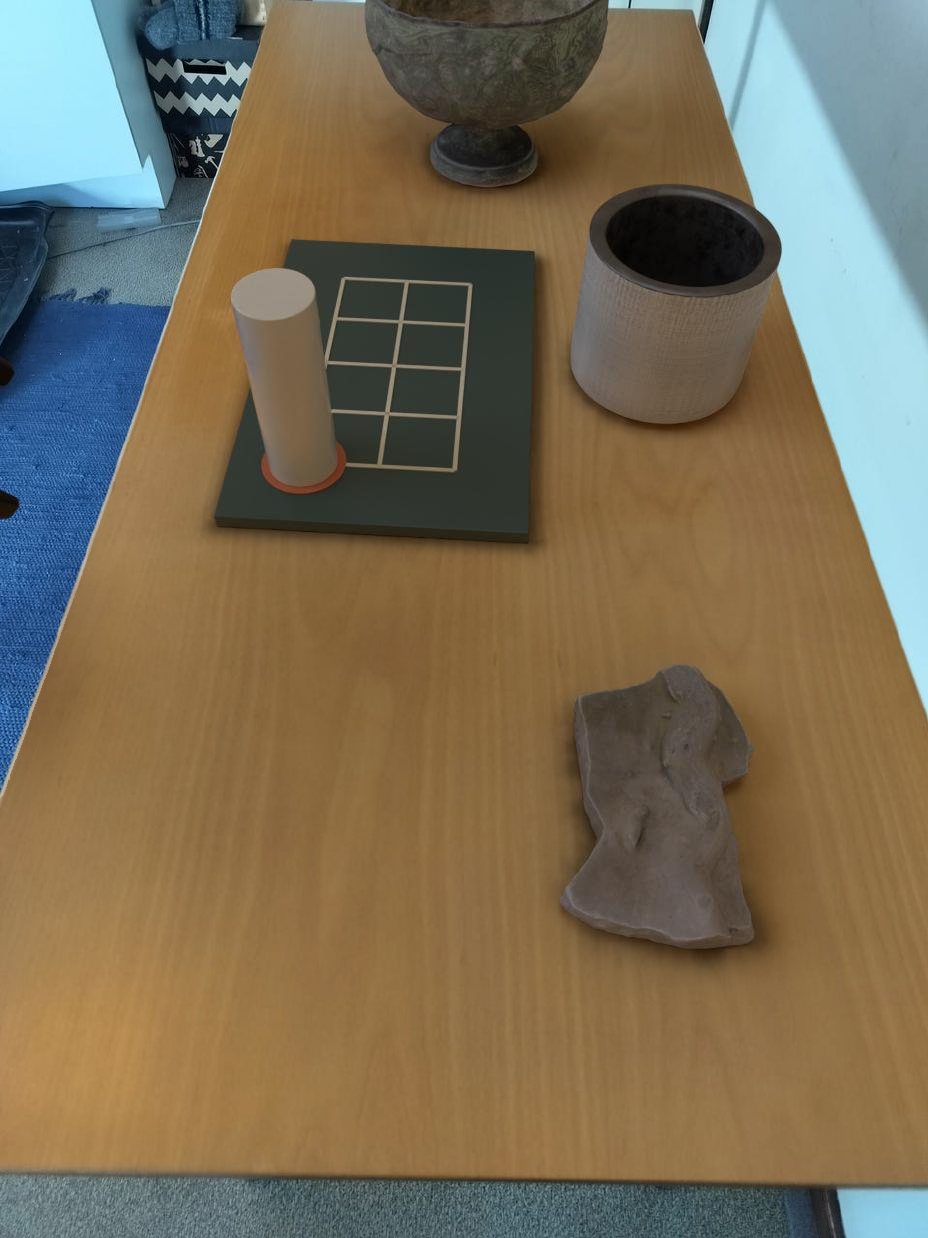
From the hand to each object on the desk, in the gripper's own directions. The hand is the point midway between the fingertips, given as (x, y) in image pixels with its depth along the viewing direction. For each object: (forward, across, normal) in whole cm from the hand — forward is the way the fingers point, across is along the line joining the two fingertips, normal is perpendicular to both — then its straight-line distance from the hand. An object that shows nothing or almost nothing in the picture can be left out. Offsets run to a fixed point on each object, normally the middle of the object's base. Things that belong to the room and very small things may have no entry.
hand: (13, 439), depth 44 cm
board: (+25, +15, -6) cm, 30 cm away
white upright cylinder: (+19, +7, -1) cm, 20 cm away
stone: (+29, -22, -9) cm, 37 cm away
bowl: (+36, +42, -17) cm, 58 cm away
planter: (+38, +10, -19) cm, 44 cm away
